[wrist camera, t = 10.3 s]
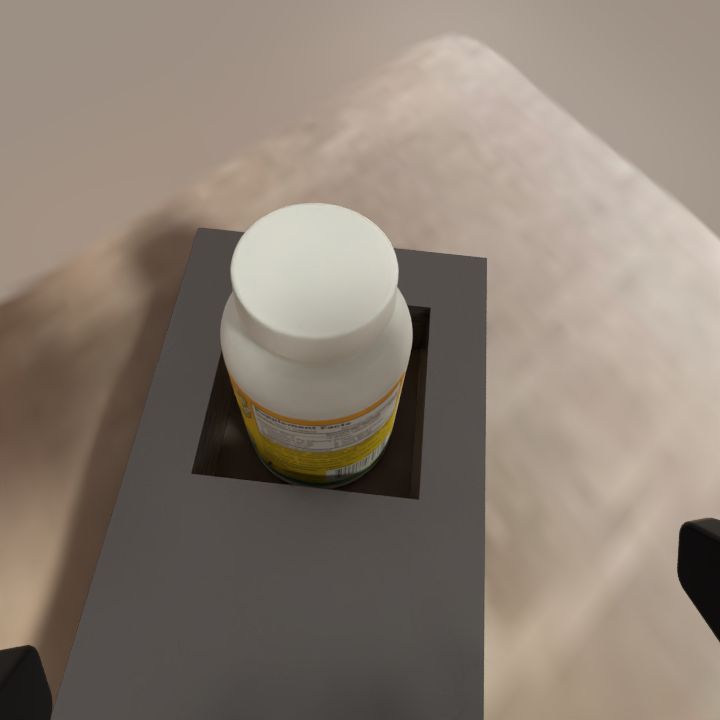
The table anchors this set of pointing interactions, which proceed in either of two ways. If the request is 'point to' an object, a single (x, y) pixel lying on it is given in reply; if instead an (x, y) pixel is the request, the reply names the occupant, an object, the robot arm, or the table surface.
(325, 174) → the table surface
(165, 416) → the grey slotted block
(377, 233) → the supplement bottle
